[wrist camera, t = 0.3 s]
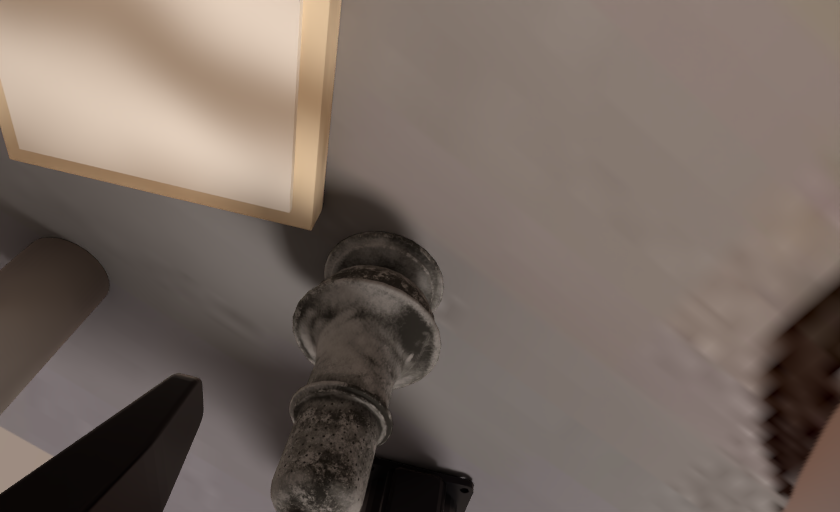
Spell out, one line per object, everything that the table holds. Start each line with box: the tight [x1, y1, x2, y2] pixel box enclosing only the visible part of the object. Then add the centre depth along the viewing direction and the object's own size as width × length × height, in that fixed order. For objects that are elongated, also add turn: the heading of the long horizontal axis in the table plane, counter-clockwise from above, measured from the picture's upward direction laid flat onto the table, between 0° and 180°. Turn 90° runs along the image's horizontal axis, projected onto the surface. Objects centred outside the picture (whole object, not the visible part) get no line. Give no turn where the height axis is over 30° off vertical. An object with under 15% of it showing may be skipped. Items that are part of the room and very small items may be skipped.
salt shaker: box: [271, 232, 444, 512], centre depth 21 cm, size 6×6×12 cm
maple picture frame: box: [0, 0, 342, 230], centre depth 19 cm, size 12×12×2 cm
